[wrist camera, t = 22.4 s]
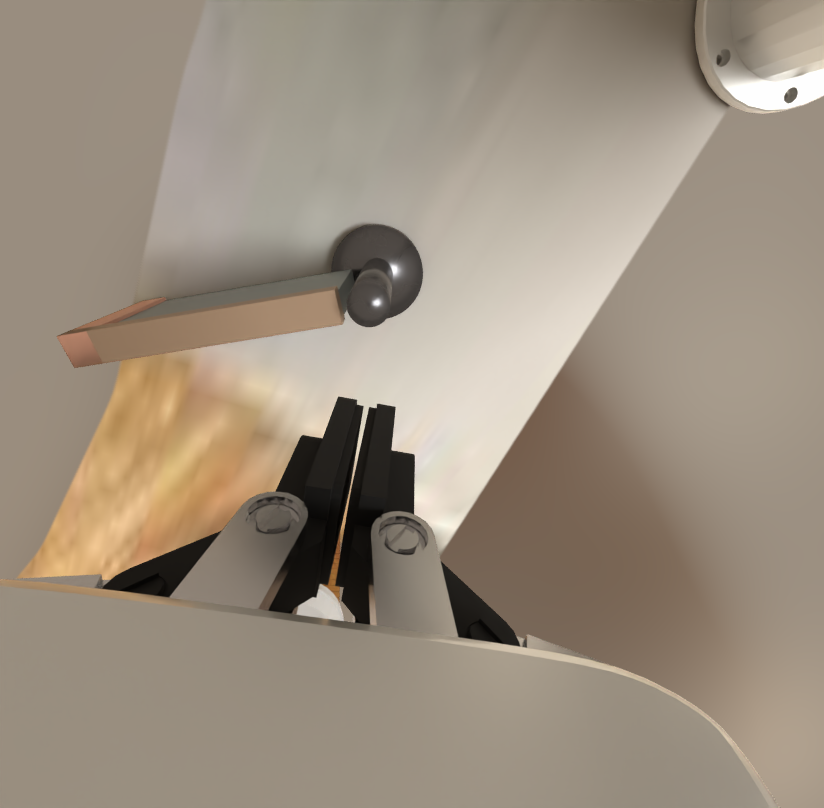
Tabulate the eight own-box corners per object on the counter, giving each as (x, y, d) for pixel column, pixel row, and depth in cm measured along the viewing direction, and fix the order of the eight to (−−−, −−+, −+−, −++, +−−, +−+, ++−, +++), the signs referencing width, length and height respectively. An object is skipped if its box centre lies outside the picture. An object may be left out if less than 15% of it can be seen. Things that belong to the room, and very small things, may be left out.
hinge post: (322, 233, 31) (287, 251, 22) (414, 216, 31) (421, 226, 21) (345, 323, 34) (323, 374, 25) (428, 308, 34) (440, 354, 24)
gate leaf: (351, 265, 31) (334, 289, 23) (356, 292, 32) (342, 324, 24) (142, 300, 32) (56, 336, 24) (153, 325, 33) (74, 367, 25)
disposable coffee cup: (289, 567, 47) (256, 678, 36) (249, 505, 43) (199, 609, 32) (368, 547, 46) (358, 655, 35) (335, 481, 42) (313, 581, 31)
